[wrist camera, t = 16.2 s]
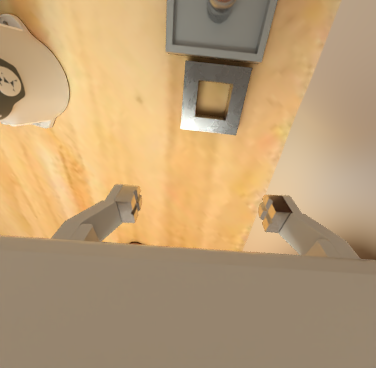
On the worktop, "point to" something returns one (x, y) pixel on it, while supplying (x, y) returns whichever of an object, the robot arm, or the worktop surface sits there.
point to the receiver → (235, 101)
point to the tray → (219, 30)
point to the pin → (219, 10)
